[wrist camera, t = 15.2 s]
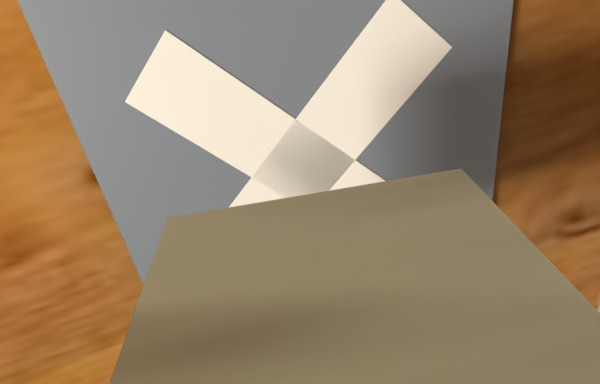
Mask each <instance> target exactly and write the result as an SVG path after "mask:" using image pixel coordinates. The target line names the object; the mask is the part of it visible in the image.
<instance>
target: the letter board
mask: <svg viewBox="0 0 600 384" xmlns="http://www.w3.org/2000/svg"><path fill="white" fill-rule="evenodd" d="M513 1H514V0H18V2H19V5H20V7H21V9H22V12H23V14H24V16H25V18H26V21H27V23H28V25H29V27H30V30H31V32H32V34H33V36H34V39H35V41H36V43H37V45H38V48H39V50H40V52H41V54H42V57H43V59H44V61H45V63H46V66H47V68H48V70H49V72H50V75H51V77H52V79H53V81H54V84H55V86H56V88H57V91H58V93H59V95H60V97H61V100H62V102H63V104H64V106H65V109H66V111H67V113H68V115H69V118H70V120H71V122H72V124H73V127H74V129H75V131H76V133H77V136H78V138H79V140H80V142H81V145H82V147H83V149H84V151H85V154H86V156H87V158H88V161H89V163H90V165H91V167H92V170H93V172H94V174H95V176H96V179H97V181H98V183H99V185H100V188H101V190H102V192H103V194H104V197H105V199H106V201H107V203H108V206H109V208H110V210H111V212H112V215H113V217H114V219H115V221H116V224H117V226H118V228H119V230H120V233H121V235H122V237H123V240H124V242H125V244H126V246H127V249H128V251H129V253H130V255H131V258H132V260H133V262H134V264H135V267H136V269H137V271H138V273H139V276H140V278H141V280H142V282H143V285H144V283H145V280H146V278H147V275H148V272H149V269H150V266H151V263H152V260H153V258H154V255H155V252H156V249H157V246H158V243H159V240H160V237H161V235H162V232H163V229H164V226H165V223H166V220H167V218H169V217H175V216H181V215H187V214H193V213H199V212H205V211H211V210H217V209H223V208H229V207H235V206H241V205H247V204H253V203H258V202H264V201H270V200H276V199H282V198H288V197H294V196H300V195H306V194H312V193H318V192H324V191H330V190H336V189H342V188H348V187H354V186H360V185H366V184H371V183H377V182H383V181H389V180H395V179H401V178H407V177H413V176H419V175H425V174H431V173H437V172H443V171H449V170H455V169H462V170H463V171H464V172H465V173H466V174H467V175H468V176H469V177H470V178H471V179H472V180H473V181H474V182H475V183H476V184H477V185H478V186H479V187H480V189H481V190H482V191H483V192H484V193H485V194H486V195H487V196H488V197H489V198H490V199H491V200H492V201H493V191H494V182H495V172H496V163H497V153H498V144H499V134H500V125H501V115H502V106H503V96H504V87H505V77H506V67H507V58H508V48H509V39H510V29H511V20H512V10H513Z"/></svg>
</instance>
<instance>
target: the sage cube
mask: <svg viewBox="0 0 600 384" xmlns="http://www.w3.org/2000/svg"><path fill="white" fill-rule="evenodd" d="M109 384H600V313H599V312H598V311H597V310H596V309H595V308H594V307H593V305H592V304H591V303H590V302H589V301H588V300H587V299H586V298H585V297H584V296H583V295H582V294H581V293H580V292H579V291H578V290H577V289H576V288H575V287H574V286H573V285H572V284H571V282H570V281H569V280H568V279H567V278H566V277H565V276H564V275H563V274H562V273H561V272H560V271H559V270H558V269H557V268H556V267H555V266H554V265H553V264H552V263H551V262H550V261H549V260H548V258H547V257H546V256H545V255H544V254H543V253H542V252H541V251H540V250H539V249H538V248H537V247H536V246H535V245H534V244H533V243H532V242H531V241H530V240H529V239H528V238H527V237H526V236H525V234H524V233H523V232H522V231H521V230H520V229H519V228H518V227H517V226H516V225H515V224H514V223H513V222H512V221H511V220H510V219H509V218H508V217H507V216H506V215H505V214H504V213H503V211H502V210H501V209H500V208H499V207H498V206H497V205H496V204H495V203H494V202H493V201H492V200H491V199H490V198H489V197H488V196H487V195H486V194H485V193H484V192H483V191H482V190H481V189H480V187H479V186H478V185H477V184H476V183H475V182H474V181H473V180H472V179H471V178H470V177H469V176H468V175H467V174H466V173H465V172H464V171H463V170H462V169H455V170H449V171H443V172H437V173H431V174H425V175H419V176H413V177H407V178H401V179H395V180H389V181H383V182H377V183H371V184H366V185H360V186H354V187H348V188H342V189H336V190H330V191H324V192H318V193H312V194H306V195H300V196H294V197H288V198H282V199H276V200H270V201H264V202H258V203H253V204H247V205H241V206H235V207H229V208H223V209H217V210H211V211H205V212H199V213H193V214H187V215H181V216H175V217H169V218H167V220H166V223H165V226H164V229H163V232H162V235H161V237H160V240H159V243H158V246H157V249H156V252H155V255H154V258H153V260H152V263H151V266H150V269H149V272H148V275H147V278H146V280H145V283H144V286H143V289H142V292H141V295H140V298H139V300H138V303H137V306H136V309H135V312H134V315H133V318H132V320H131V323H130V326H129V329H128V332H127V335H126V338H125V341H124V343H123V346H122V349H121V352H120V355H119V358H118V361H117V363H116V366H115V369H114V372H113V375H112V378H111V381H110V383H109Z"/></svg>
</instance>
